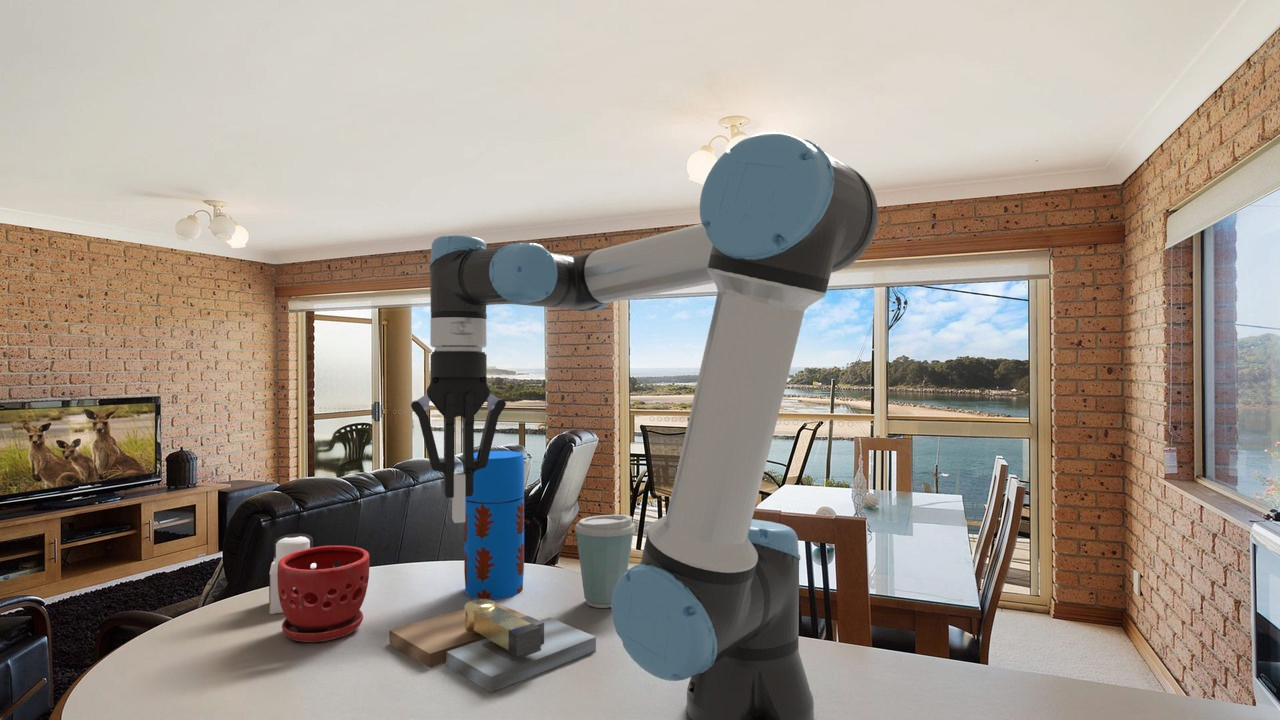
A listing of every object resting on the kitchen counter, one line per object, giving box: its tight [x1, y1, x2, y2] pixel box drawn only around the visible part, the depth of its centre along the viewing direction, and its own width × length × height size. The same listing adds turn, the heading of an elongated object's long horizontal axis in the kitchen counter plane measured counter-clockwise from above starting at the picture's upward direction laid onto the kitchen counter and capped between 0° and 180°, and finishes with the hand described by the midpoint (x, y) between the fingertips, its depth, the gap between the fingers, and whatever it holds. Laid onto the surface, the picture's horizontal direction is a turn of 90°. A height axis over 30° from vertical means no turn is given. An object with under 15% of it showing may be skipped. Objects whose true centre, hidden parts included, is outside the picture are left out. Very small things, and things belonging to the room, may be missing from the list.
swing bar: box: [464, 599, 541, 657], centre depth 99 cm, size 15×4×3 cm, turn 42°
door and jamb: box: [388, 601, 597, 693], centre depth 103 cm, size 24×20×5 cm
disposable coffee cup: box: [574, 514, 636, 609], centre depth 122 cm, size 11×11×15 cm
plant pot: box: [277, 545, 370, 643], centre depth 109 cm, size 13×13×12 cm
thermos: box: [463, 450, 525, 600], centre depth 129 cm, size 11×11×25 cm
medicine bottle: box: [268, 533, 317, 615], centre depth 121 cm, size 7×7×12 cm
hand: (458, 520), depth 96 cm, fingers closed
